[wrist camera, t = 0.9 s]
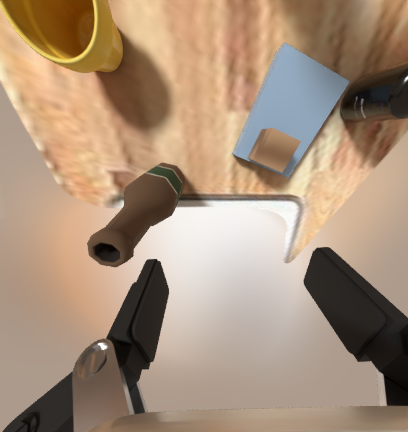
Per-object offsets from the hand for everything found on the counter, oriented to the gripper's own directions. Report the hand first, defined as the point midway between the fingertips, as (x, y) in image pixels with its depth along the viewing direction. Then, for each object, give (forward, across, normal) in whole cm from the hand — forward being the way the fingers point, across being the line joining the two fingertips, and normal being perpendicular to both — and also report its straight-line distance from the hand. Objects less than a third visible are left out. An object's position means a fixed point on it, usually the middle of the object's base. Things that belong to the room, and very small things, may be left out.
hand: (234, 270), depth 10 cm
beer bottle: (+27, +10, 0) cm, 29 cm away
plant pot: (+27, +16, -21) cm, 38 cm away
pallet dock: (+27, -13, -8) cm, 31 cm away
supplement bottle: (+27, -27, -10) cm, 40 cm away
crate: (+24, -10, -4) cm, 26 cm away
